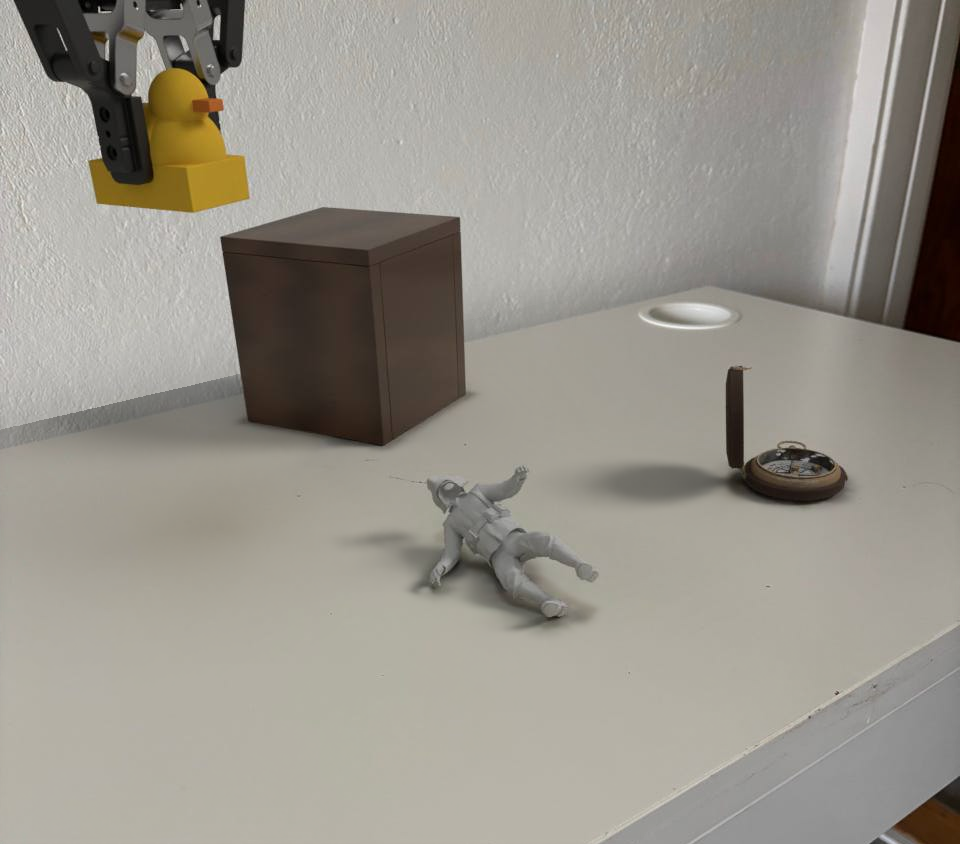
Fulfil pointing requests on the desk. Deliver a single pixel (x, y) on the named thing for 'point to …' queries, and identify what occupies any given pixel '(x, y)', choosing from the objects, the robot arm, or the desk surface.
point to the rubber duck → (179, 153)
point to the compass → (777, 457)
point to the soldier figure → (499, 537)
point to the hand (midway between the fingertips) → (168, 173)
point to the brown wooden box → (348, 320)
